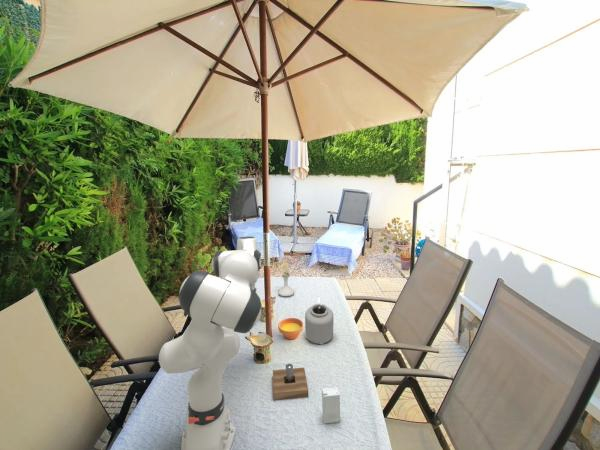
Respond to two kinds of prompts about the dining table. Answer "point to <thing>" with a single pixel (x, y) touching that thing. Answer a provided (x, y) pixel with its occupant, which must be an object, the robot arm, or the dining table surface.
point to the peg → (289, 373)
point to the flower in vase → (285, 281)
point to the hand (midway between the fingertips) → (250, 304)
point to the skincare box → (331, 405)
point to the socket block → (289, 385)
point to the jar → (319, 323)
